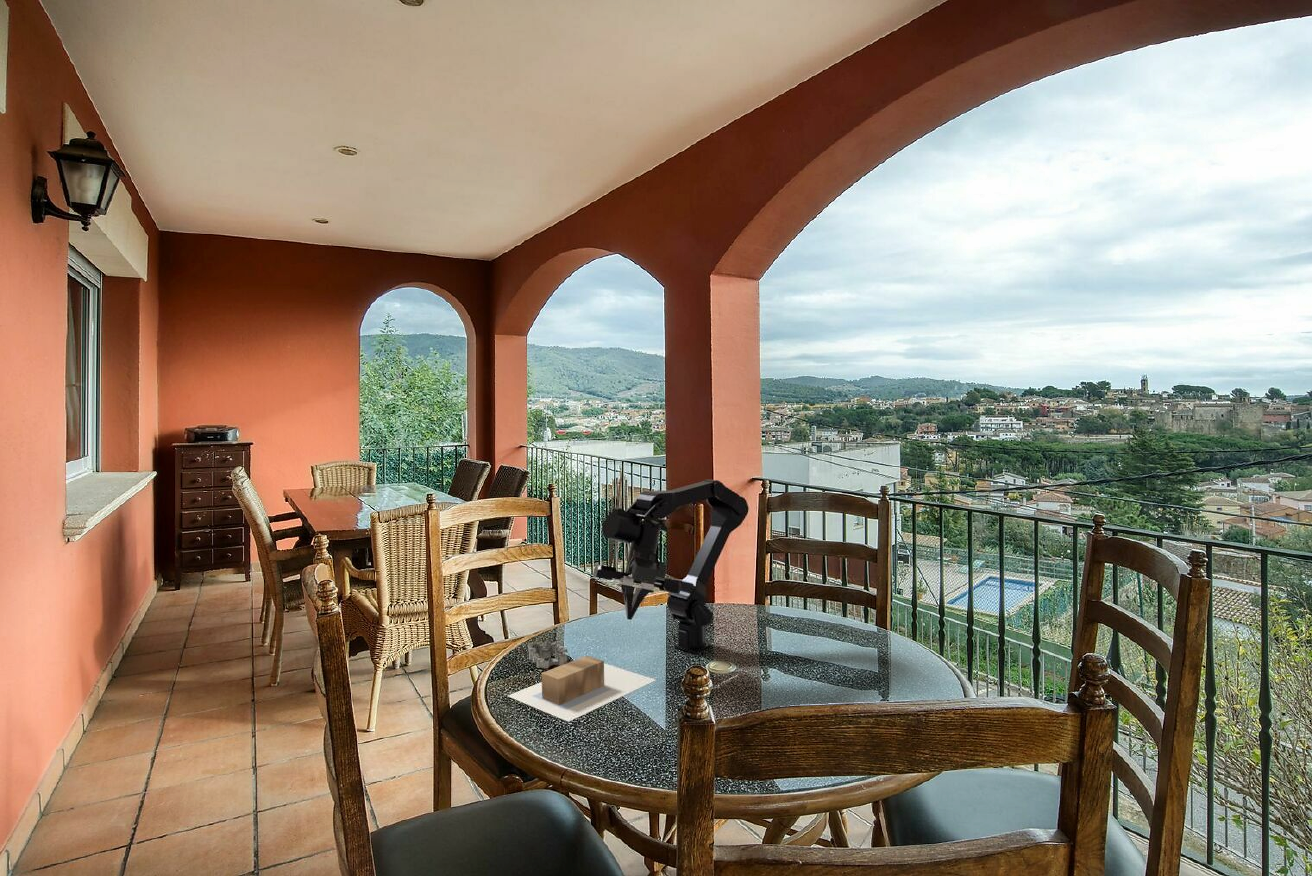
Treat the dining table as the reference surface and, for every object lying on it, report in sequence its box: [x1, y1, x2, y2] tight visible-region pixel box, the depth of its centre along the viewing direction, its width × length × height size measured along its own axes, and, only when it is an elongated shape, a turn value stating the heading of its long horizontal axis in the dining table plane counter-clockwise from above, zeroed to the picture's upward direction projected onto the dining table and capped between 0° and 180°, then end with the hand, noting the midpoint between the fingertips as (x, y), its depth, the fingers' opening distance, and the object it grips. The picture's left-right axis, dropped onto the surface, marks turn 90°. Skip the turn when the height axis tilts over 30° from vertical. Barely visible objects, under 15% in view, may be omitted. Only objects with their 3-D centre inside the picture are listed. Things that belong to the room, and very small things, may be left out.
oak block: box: [541, 655, 605, 705], centre depth 136 cm, size 5×5×12 cm
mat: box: [507, 662, 657, 723], centre depth 138 cm, size 24×18×1 cm
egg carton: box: [527, 641, 569, 669], centre depth 154 cm, size 11×8×4 cm
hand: (629, 619), depth 148 cm, fingers closed
